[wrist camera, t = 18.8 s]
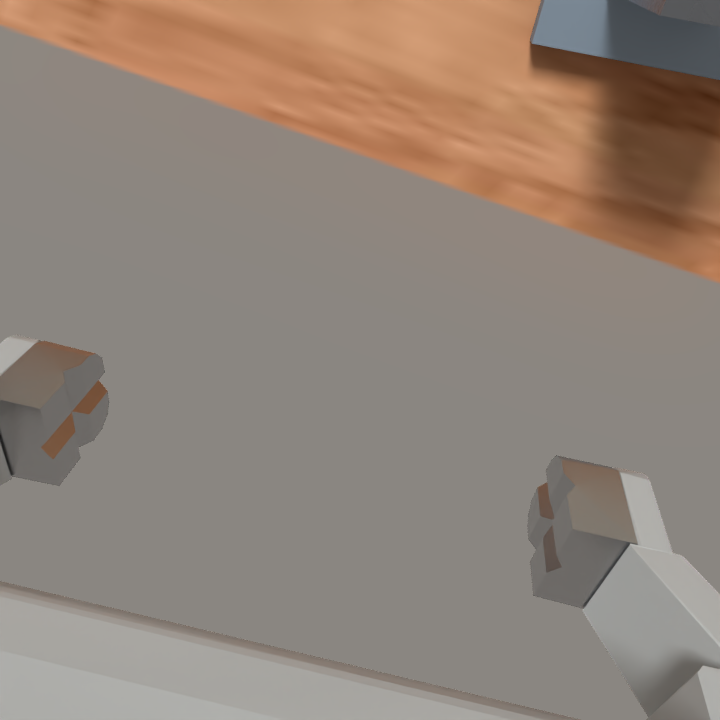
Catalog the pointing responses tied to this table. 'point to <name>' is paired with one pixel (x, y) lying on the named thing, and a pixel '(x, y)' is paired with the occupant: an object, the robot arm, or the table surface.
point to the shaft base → (628, 35)
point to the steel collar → (685, 9)
